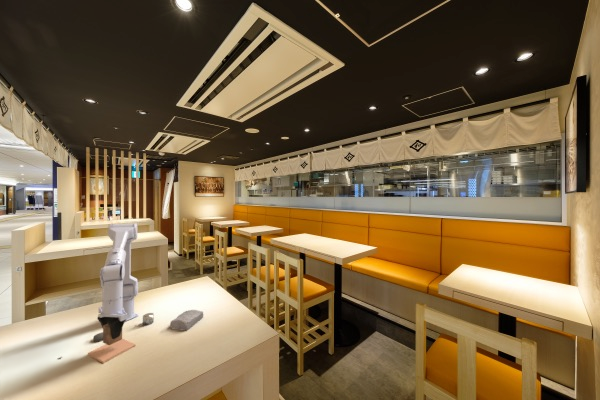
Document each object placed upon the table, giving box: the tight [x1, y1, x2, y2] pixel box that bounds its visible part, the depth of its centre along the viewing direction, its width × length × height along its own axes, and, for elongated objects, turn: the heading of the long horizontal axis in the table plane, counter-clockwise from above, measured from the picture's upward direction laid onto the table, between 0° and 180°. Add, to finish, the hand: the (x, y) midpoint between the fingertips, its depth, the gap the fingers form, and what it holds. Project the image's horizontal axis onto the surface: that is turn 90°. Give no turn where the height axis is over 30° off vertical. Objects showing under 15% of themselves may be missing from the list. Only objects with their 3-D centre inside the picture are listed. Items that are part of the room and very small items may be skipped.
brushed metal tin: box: [142, 312, 155, 326], centre depth 101 cm, size 4×4×4 cm
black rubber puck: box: [92, 331, 103, 343], centre depth 90 cm, size 4×4×2 cm
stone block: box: [169, 309, 204, 331], centre depth 102 cm, size 12×5×10 cm
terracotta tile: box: [87, 338, 137, 364], centre depth 83 cm, size 10×10×1 cm
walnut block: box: [102, 324, 123, 345], centre depth 83 cm, size 4×4×6 cm
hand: (112, 335), depth 83 cm, fingers closed on walnut block, 4 cm apart
